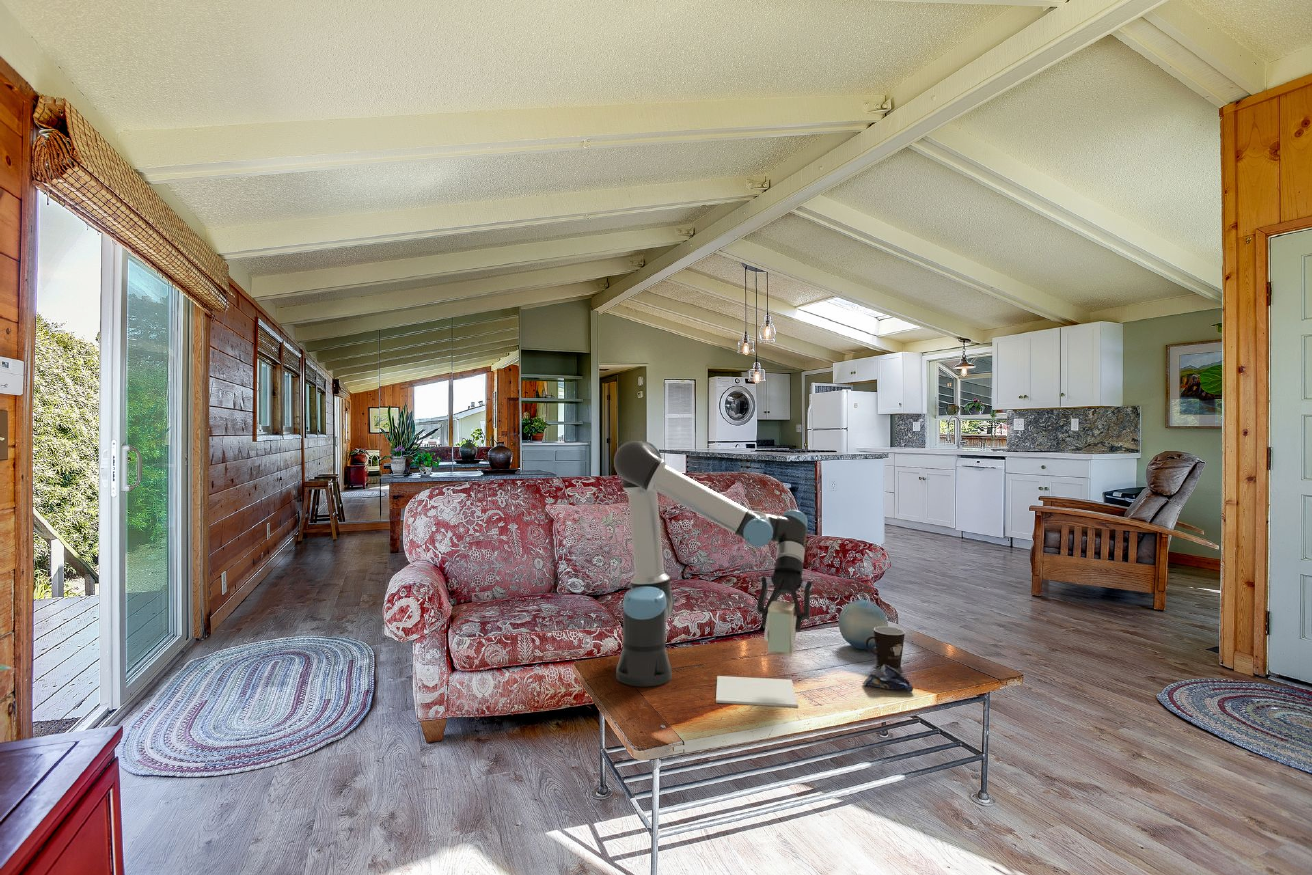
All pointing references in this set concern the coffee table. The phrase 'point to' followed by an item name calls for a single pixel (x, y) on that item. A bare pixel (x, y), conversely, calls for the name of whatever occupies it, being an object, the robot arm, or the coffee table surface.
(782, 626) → the birch block
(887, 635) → the coffee mug
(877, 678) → the snack package
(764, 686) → the mat
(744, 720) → the coffee table surface
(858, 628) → the decorative ball
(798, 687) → the coffee table surface
